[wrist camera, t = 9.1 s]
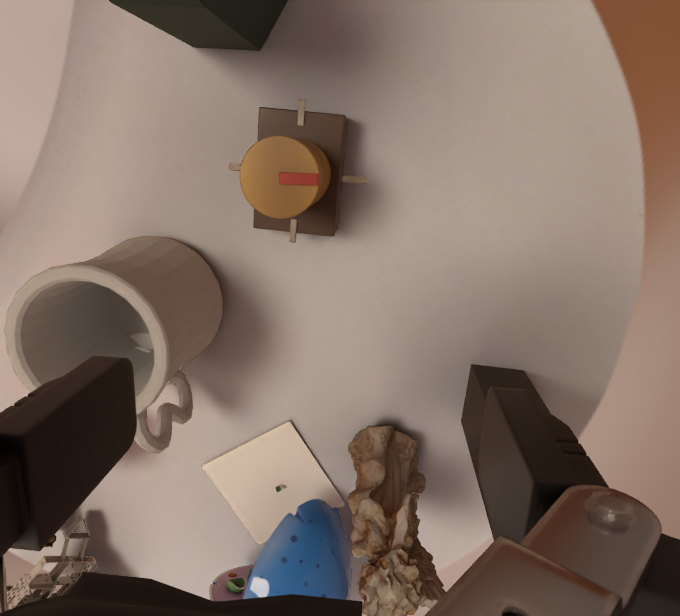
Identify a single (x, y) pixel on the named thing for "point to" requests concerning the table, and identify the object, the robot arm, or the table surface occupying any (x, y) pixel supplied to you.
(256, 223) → the plate
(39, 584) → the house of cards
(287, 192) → the lock knob
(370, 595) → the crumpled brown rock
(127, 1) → the bottle
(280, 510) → the coaster
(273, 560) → the speckled blue eggshell
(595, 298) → the table surface
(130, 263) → the mug
